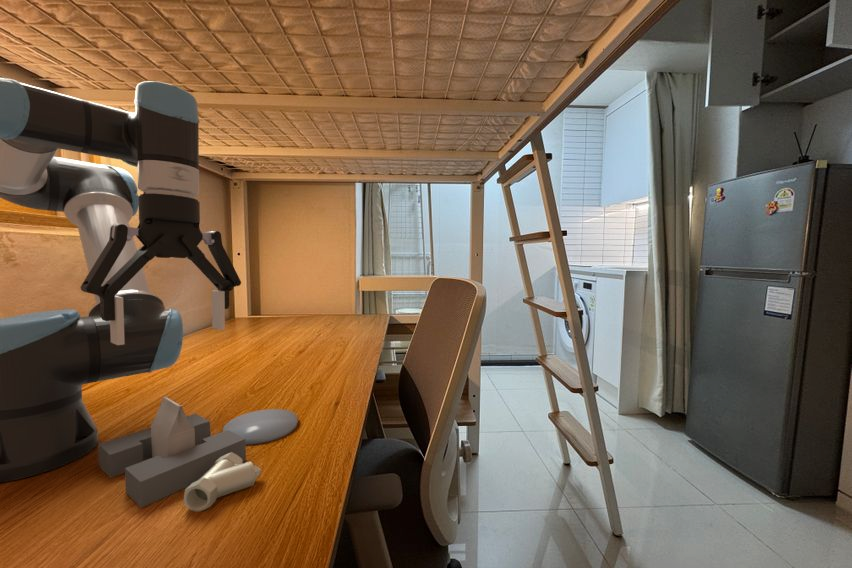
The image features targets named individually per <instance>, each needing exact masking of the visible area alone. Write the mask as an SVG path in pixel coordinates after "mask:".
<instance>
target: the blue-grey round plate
mask: <svg viewBox="0 0 852 568" xmlns="http://www.w3.org/2000/svg"><path fill="white" fill-rule="evenodd" d="M297 426H298V416H297V414H296V413H295V412H293V411H291V410H287V409H281V408H271V409H260V410H254V411H251V412H247V413H243V414H241V415H238V416H236V417H234V418H233V419H231V420H229V421H228V422H227V423H225V425H224V426H223V430H222V432H223V431H226V430H229V431H231V432H233V433H235V434H237V435H239V436H241V437H243V438H245V442H246V445H247V446H248V445H258V444H264V443H268V442H272V441H276V440H279V439H281V438H283V437H286V436H287V435H290V433H292V432H293V431H295V430H296V428H297Z"/></svg>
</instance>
